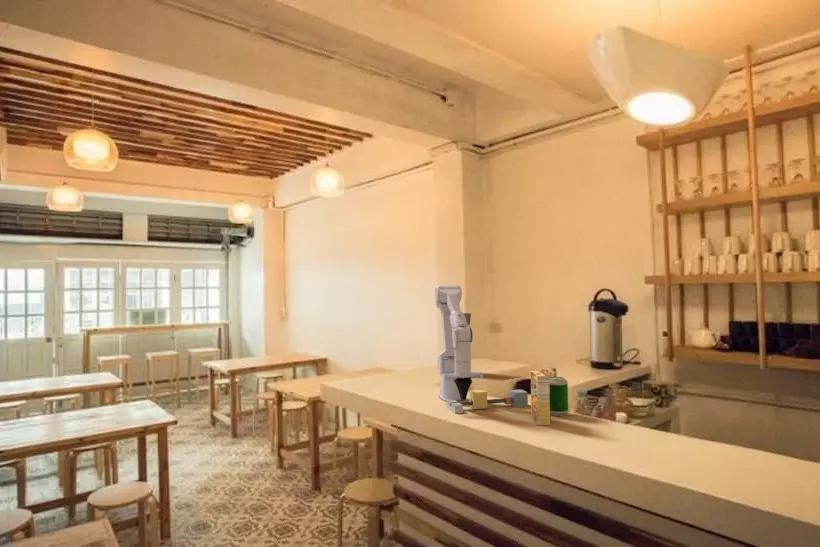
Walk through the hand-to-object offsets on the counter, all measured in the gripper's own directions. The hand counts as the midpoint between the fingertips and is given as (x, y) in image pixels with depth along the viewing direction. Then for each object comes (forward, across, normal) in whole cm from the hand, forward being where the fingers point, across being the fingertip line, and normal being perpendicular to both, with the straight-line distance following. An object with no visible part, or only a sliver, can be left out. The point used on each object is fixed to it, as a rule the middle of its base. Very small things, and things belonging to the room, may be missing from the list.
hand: (463, 399), depth 172 cm
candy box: (+4, +18, -22) cm, 28 cm away
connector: (+3, +21, 0) cm, 21 cm away
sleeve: (+3, +6, 0) cm, 7 cm away
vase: (+4, +24, +70) cm, 74 cm away
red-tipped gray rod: (+3, +7, 0) cm, 8 cm away
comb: (+3, -3, 0) cm, 5 cm away
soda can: (+4, +28, -15) cm, 32 cm away
